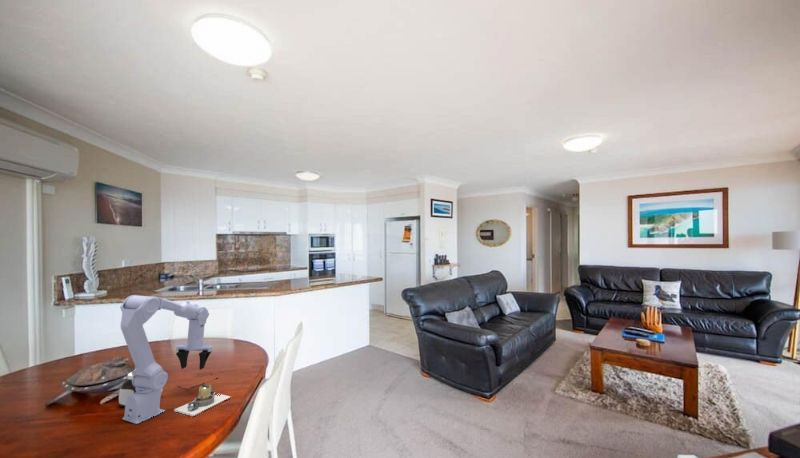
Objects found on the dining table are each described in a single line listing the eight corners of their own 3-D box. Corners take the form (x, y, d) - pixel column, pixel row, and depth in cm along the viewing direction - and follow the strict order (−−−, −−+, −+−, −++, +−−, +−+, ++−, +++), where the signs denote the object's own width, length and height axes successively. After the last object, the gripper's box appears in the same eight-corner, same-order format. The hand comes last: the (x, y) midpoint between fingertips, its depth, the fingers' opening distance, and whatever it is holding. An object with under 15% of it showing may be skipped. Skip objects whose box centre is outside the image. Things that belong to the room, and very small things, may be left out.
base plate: (193, 417, 111) (193, 410, 111) (173, 412, 114) (174, 405, 115) (230, 399, 126) (231, 392, 126) (212, 394, 130) (213, 388, 130)
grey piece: (211, 398, 124) (212, 392, 124) (203, 398, 124) (204, 393, 124) (214, 394, 127) (215, 389, 128) (207, 395, 127) (207, 389, 127)
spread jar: (114, 409, 115) (117, 377, 116) (131, 396, 126) (134, 366, 127) (151, 406, 118) (155, 375, 119) (165, 393, 129) (168, 365, 130)
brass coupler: (211, 402, 121) (213, 384, 122) (201, 406, 118) (203, 387, 118) (205, 399, 123) (207, 382, 124) (195, 403, 119) (197, 385, 120)
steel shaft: (193, 406, 117) (194, 400, 117) (199, 407, 117) (200, 401, 117) (185, 410, 114) (186, 404, 114) (192, 411, 113) (193, 405, 114)
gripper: (218, 333, 136) (215, 365, 135) (185, 332, 136) (182, 364, 135) (208, 337, 129) (205, 371, 128) (173, 336, 129) (170, 370, 127)
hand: (192, 368), depth 131 cm, fingers open, 7 cm apart
